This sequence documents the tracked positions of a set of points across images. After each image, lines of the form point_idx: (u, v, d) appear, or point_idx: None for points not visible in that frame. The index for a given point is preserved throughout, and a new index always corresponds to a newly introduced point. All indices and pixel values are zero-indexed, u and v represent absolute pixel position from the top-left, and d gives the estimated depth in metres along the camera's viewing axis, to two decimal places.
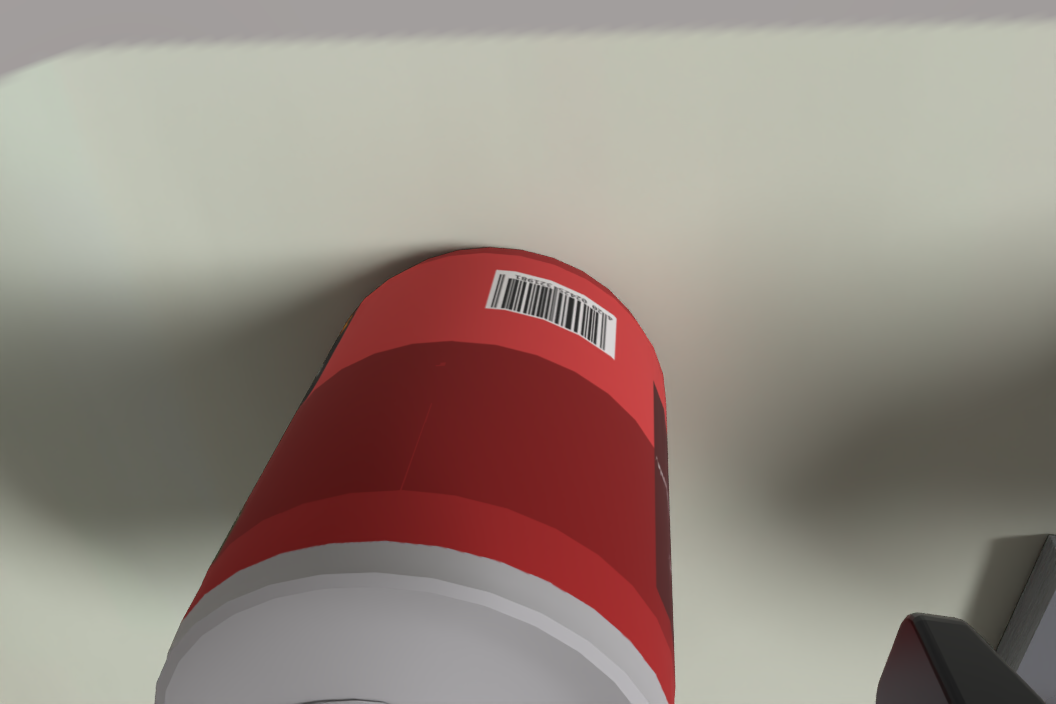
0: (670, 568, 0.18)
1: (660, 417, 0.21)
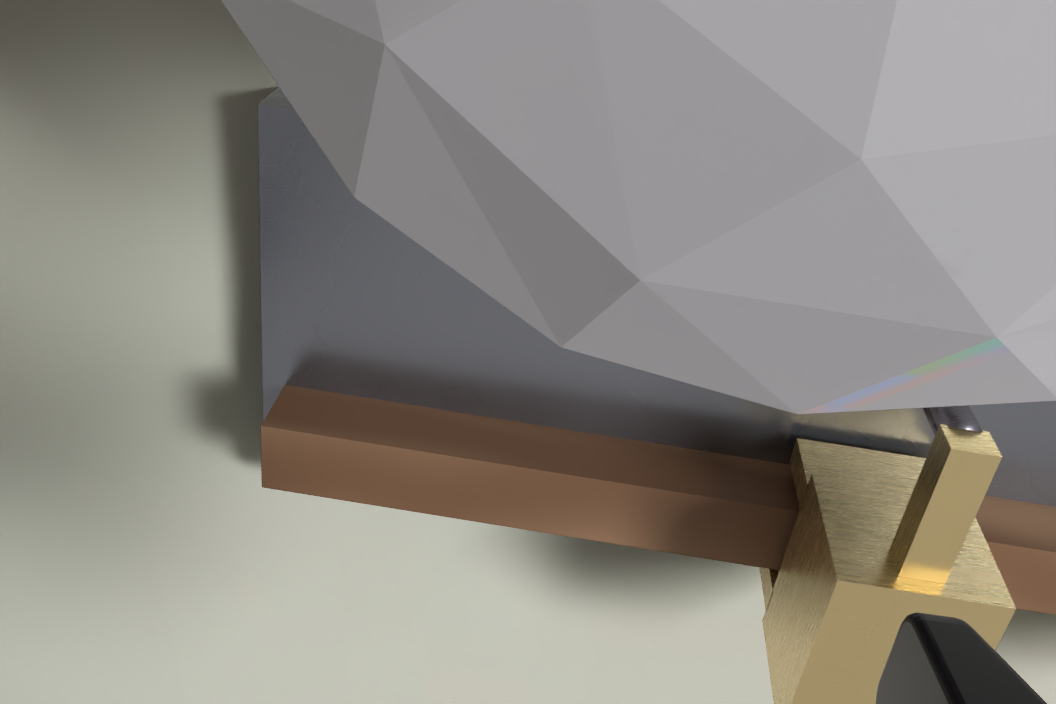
0: None
1: None
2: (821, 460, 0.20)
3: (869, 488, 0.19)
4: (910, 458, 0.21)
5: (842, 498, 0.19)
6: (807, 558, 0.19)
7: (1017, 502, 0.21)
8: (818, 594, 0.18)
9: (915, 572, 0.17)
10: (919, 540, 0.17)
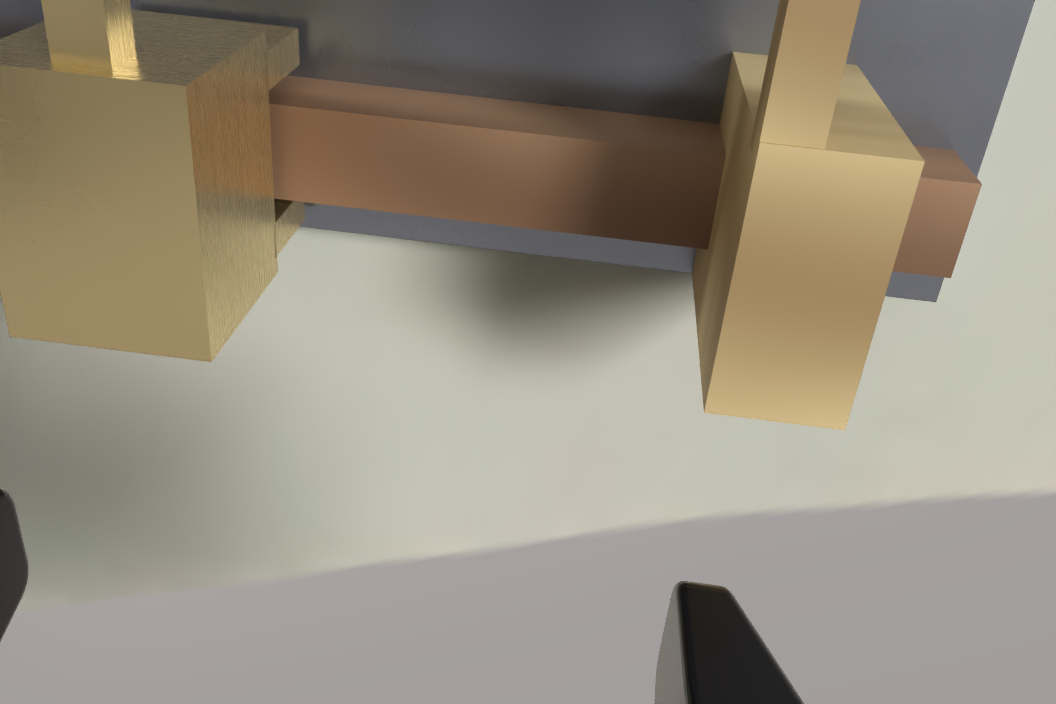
0: None
1: None
2: None
3: (133, 20, 0.15)
4: (258, 24, 0.16)
5: None
6: None
7: (420, 91, 0.17)
8: None
9: (66, 52, 0.13)
10: None
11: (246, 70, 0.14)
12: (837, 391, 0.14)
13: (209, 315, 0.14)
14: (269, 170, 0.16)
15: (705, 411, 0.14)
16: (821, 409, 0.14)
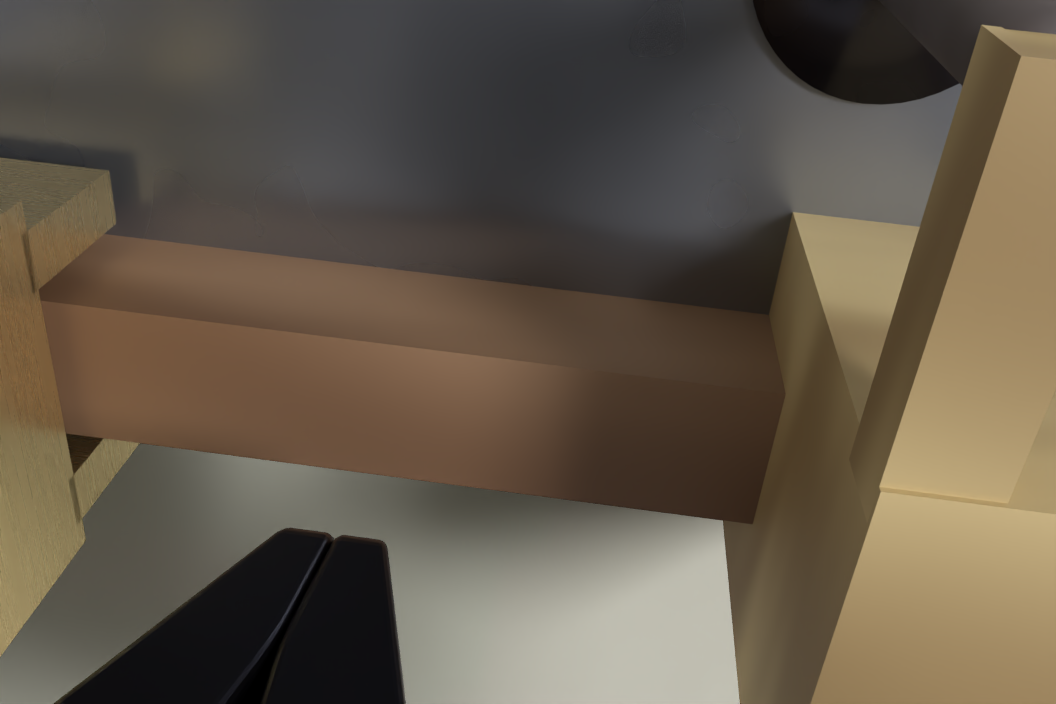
0: None
1: None
2: None
3: None
4: (45, 166, 0.10)
5: None
6: None
7: (306, 261, 0.11)
8: None
9: None
10: None
11: None
12: None
13: None
14: (55, 403, 0.10)
15: None
16: None
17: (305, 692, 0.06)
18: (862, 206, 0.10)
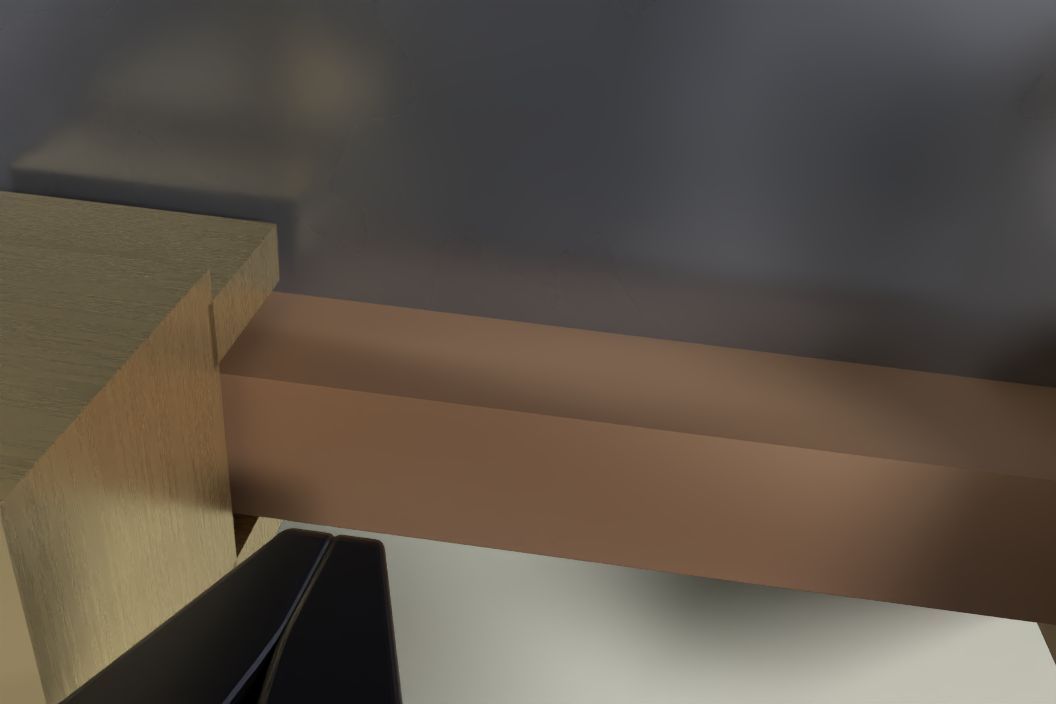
0: None
1: None
2: None
3: None
4: (206, 219, 0.09)
5: None
6: None
7: (606, 335, 0.10)
8: None
9: None
10: None
11: (168, 362, 0.07)
12: None
13: None
14: (225, 484, 0.09)
15: None
16: None
17: (302, 692, 0.06)
18: None
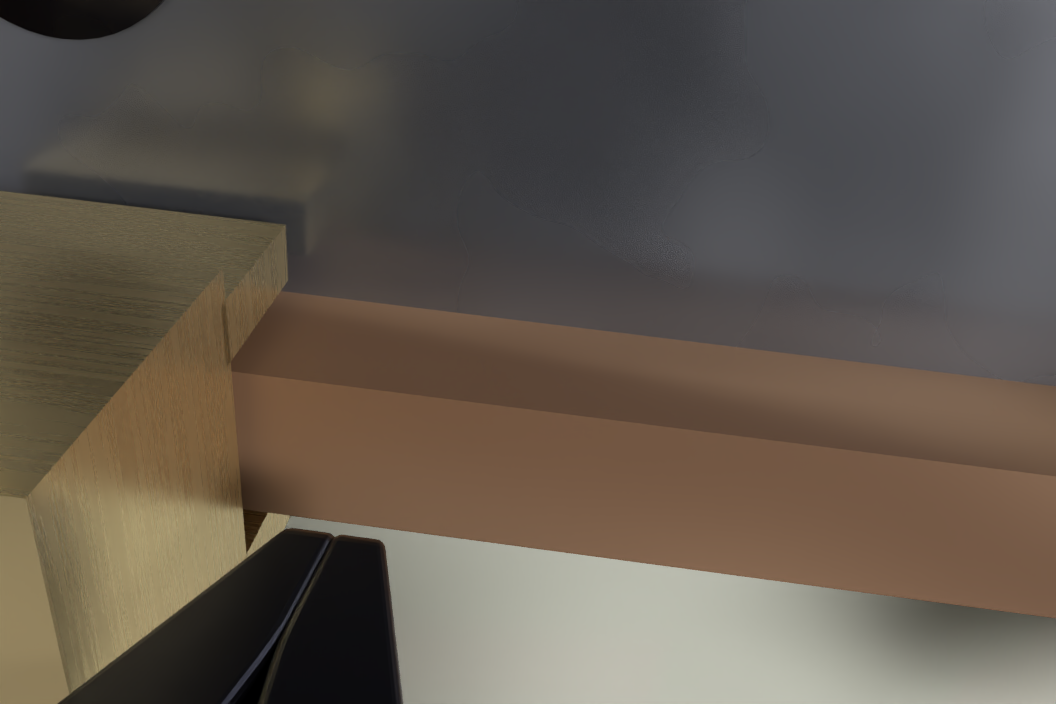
0: None
1: None
2: None
3: None
4: (217, 221, 0.10)
5: None
6: None
7: (925, 373, 0.10)
8: None
9: None
10: None
11: (183, 360, 0.08)
12: None
13: None
14: (235, 480, 0.09)
15: None
16: None
17: (302, 691, 0.06)
18: None
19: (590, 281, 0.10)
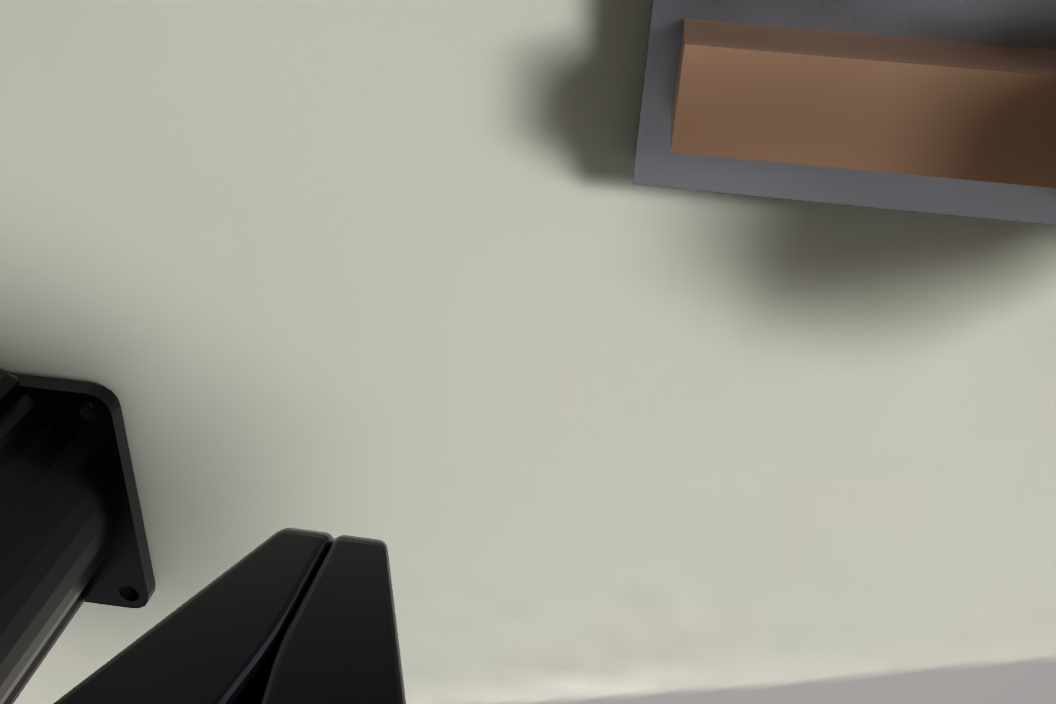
0: None
1: None
2: None
3: None
4: None
5: None
6: None
7: None
8: None
9: None
10: None
11: None
12: None
13: None
14: None
15: None
16: None
17: (304, 692, 0.06)
18: None
19: None
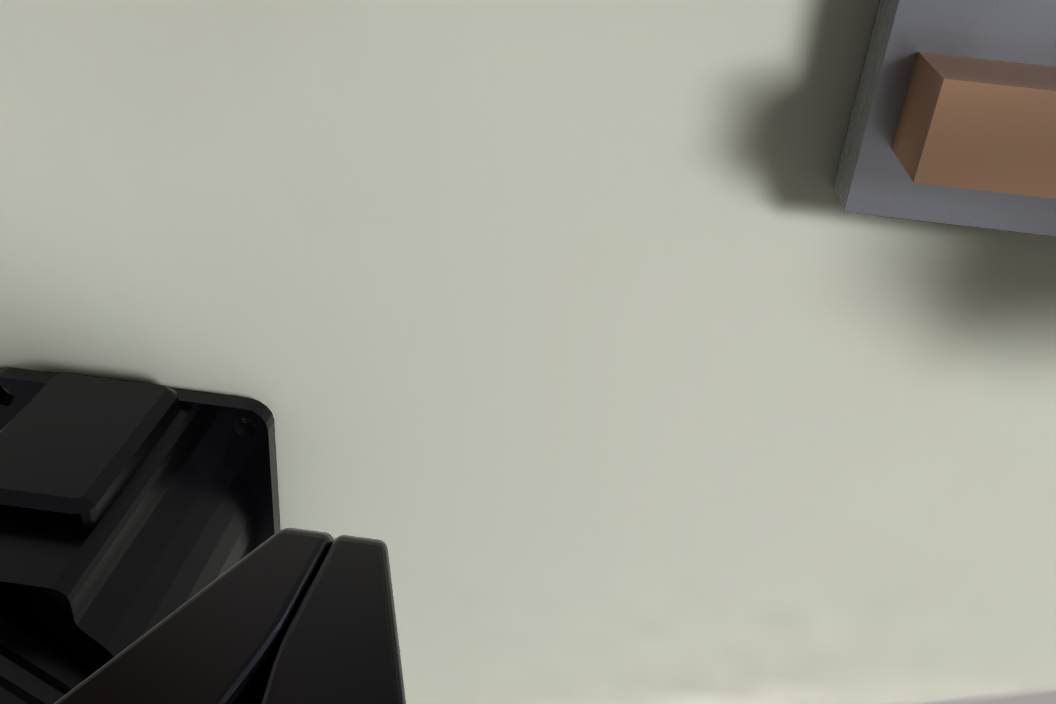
0: None
1: None
2: None
3: None
4: None
5: None
6: None
7: None
8: None
9: None
10: None
11: None
12: None
13: None
14: None
15: None
16: None
17: (305, 692, 0.06)
18: None
19: None
